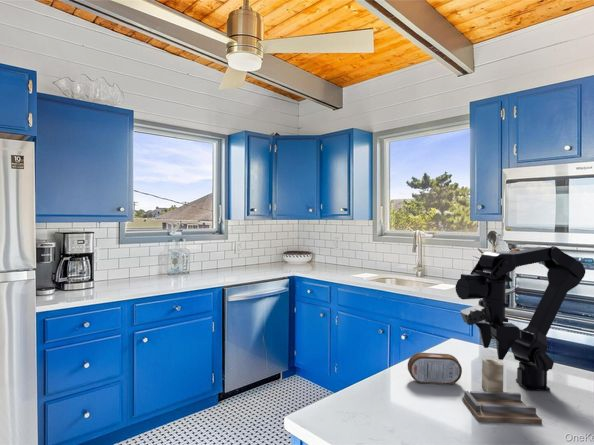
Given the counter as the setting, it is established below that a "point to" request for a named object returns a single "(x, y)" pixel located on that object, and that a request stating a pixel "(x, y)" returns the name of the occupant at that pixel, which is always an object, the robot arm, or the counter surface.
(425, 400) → the counter surface
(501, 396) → the track
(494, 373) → the block
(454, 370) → the tin
